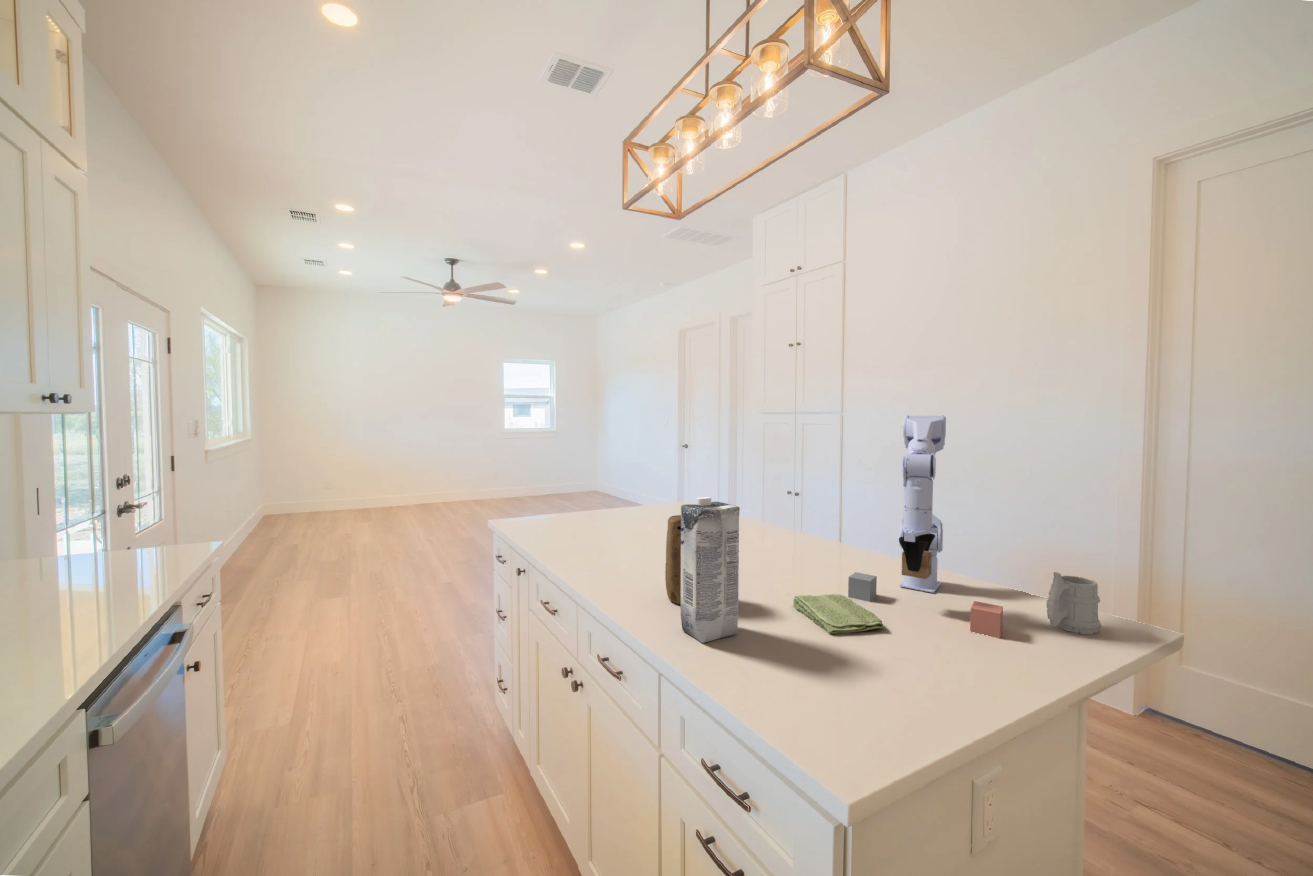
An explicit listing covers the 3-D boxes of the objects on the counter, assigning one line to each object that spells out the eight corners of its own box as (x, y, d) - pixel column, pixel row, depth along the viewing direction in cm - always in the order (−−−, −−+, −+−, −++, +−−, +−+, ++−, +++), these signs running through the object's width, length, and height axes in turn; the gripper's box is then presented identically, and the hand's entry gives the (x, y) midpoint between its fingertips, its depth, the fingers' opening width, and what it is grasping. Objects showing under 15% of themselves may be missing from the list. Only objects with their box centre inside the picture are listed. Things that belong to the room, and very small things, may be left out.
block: (669, 606, 119) (669, 519, 118) (663, 595, 127) (664, 513, 126) (715, 604, 121) (716, 518, 120) (707, 593, 128) (708, 512, 128)
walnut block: (907, 569, 121) (907, 548, 121) (931, 573, 118) (931, 551, 118) (901, 574, 117) (902, 552, 117) (926, 579, 114) (926, 556, 114)
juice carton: (744, 635, 104) (745, 499, 103) (701, 647, 98) (701, 504, 97) (716, 620, 112) (717, 493, 110) (675, 630, 106) (675, 497, 105)
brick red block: (973, 624, 110) (974, 601, 110) (1002, 630, 107) (1003, 606, 106) (970, 632, 106) (970, 608, 106) (999, 639, 103) (1000, 613, 103)
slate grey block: (855, 592, 130) (855, 572, 130) (876, 596, 127) (876, 576, 127) (848, 597, 126) (848, 577, 126) (869, 602, 123) (870, 581, 123)
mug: (1109, 632, 106) (1111, 573, 105) (1068, 640, 102) (1070, 579, 101) (1069, 618, 113) (1071, 563, 112) (1029, 625, 109) (1031, 568, 109)
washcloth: (829, 639, 103) (829, 623, 103) (789, 607, 121) (789, 593, 120) (888, 633, 106) (889, 618, 106) (840, 603, 123) (841, 589, 123)
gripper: (930, 514, 109) (929, 579, 110) (944, 505, 120) (943, 564, 121) (894, 510, 113) (893, 572, 114) (911, 502, 125) (909, 558, 125)
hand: (916, 567), depth 118 cm, fingers closed on walnut block, 5 cm apart
